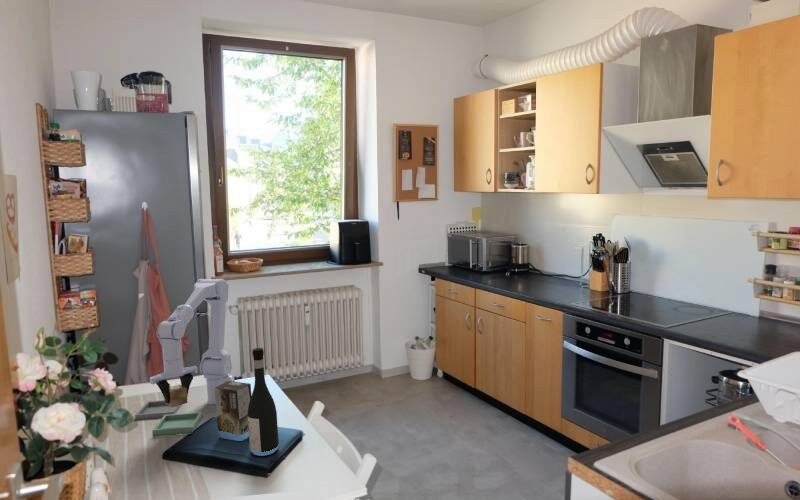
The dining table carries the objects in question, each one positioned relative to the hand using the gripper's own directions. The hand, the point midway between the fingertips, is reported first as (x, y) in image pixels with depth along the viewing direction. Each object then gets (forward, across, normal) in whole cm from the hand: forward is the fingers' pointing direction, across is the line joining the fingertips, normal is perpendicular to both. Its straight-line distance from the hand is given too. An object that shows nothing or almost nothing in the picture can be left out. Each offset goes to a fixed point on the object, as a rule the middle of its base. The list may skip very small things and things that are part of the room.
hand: (176, 399), depth 176 cm
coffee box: (+9, -9, +21) cm, 25 cm away
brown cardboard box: (+1, 0, 0) cm, 1 cm away
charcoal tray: (+9, -1, -17) cm, 19 cm away
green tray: (+9, 0, 0) cm, 9 cm away
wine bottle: (+9, -9, +37) cm, 39 cm away
